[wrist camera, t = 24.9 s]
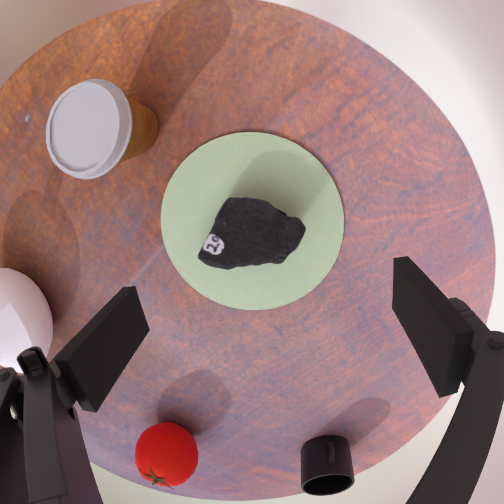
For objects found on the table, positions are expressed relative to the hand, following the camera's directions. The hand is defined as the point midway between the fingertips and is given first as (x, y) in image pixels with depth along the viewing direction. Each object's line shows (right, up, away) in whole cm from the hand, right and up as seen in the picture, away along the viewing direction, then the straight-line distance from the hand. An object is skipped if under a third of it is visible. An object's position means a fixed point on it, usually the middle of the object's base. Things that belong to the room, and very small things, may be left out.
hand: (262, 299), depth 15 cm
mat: (-1, +5, +22) cm, 23 cm away
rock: (-1, +5, +22) cm, 22 cm away
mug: (+13, -34, +35) cm, 51 cm away
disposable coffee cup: (-15, +17, +19) cm, 30 cm away
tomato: (-15, -31, +37) cm, 51 cm away
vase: (-40, -7, +30) cm, 50 cm away
